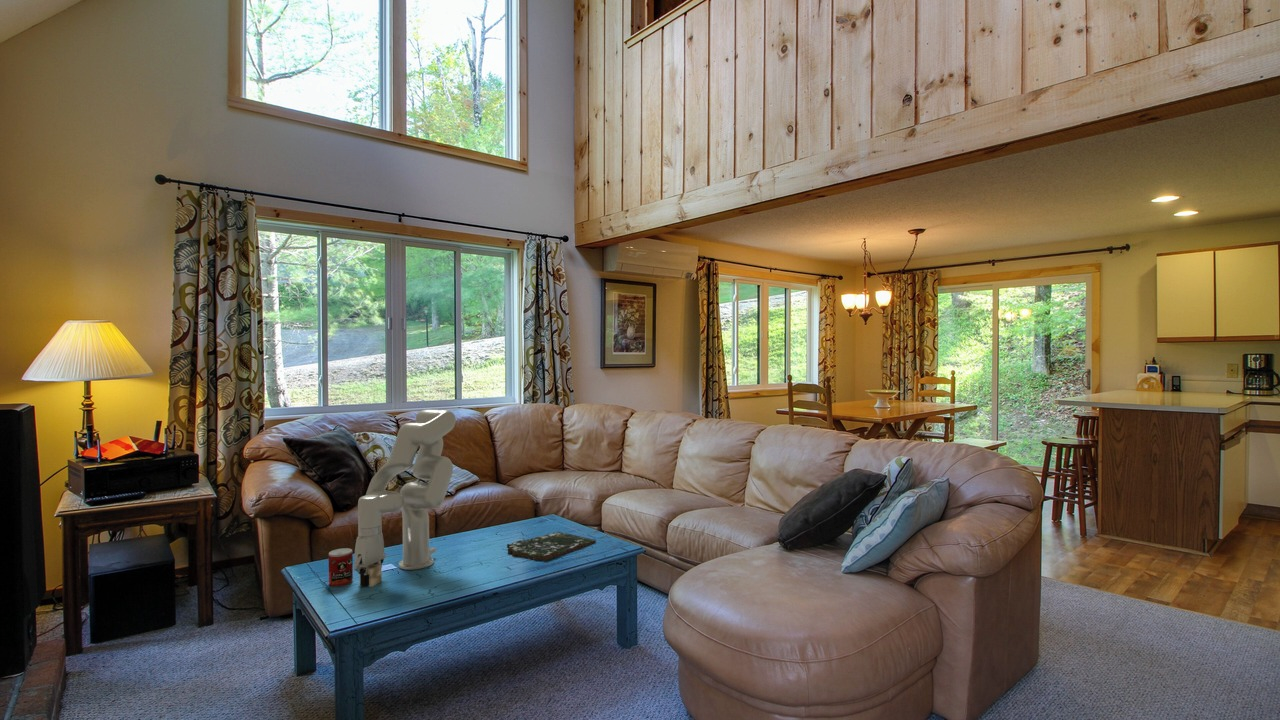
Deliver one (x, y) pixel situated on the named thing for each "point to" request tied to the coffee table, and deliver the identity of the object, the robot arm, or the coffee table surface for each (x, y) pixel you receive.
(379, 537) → the robot arm
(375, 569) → the beech block
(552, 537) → the topographical map
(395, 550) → the coffee table surface
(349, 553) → the canned food
